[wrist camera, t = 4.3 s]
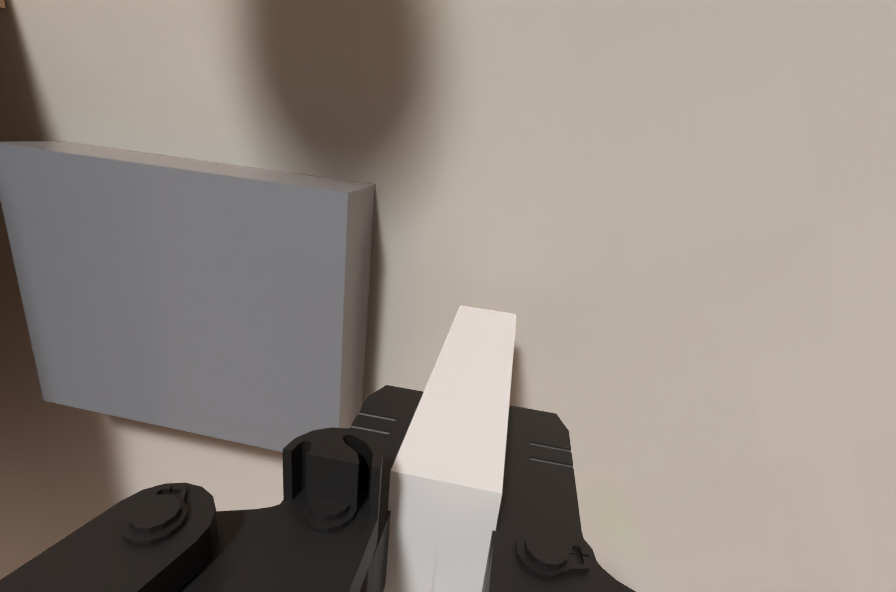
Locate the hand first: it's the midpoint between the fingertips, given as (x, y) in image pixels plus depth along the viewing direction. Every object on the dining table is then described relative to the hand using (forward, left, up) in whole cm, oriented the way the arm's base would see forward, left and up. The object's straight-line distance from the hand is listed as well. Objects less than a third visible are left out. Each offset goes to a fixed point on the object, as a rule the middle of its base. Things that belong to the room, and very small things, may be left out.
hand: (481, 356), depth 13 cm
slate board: (+9, 0, -2) cm, 9 cm away
